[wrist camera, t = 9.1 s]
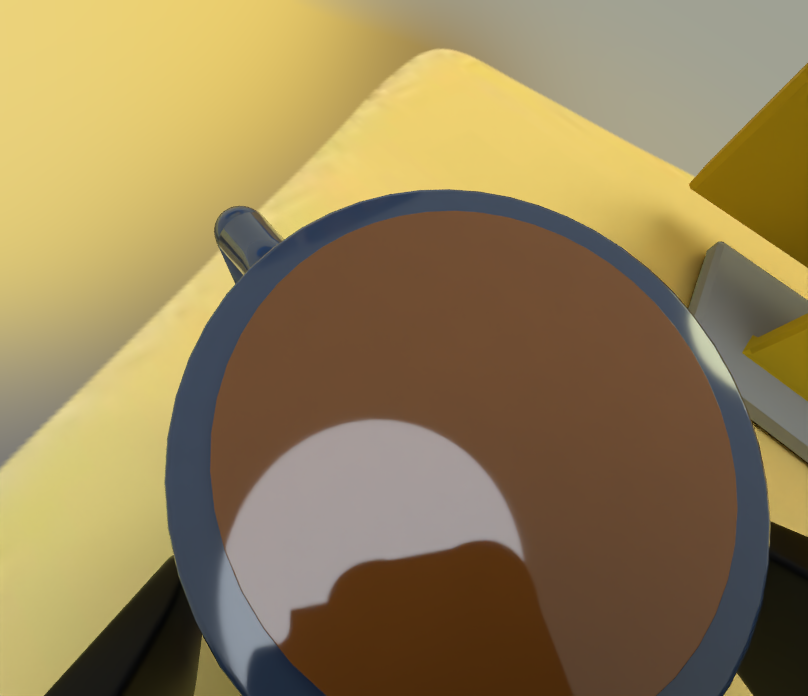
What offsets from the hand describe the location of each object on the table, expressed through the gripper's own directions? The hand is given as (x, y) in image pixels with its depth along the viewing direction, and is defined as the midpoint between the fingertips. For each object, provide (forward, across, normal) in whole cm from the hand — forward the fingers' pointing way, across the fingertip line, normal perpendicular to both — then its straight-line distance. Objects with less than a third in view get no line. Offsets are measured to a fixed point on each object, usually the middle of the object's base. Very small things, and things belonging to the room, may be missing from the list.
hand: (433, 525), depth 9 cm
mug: (+7, +1, +4) cm, 8 cm away
